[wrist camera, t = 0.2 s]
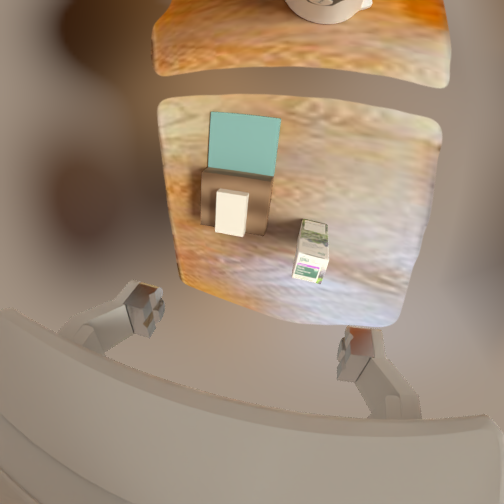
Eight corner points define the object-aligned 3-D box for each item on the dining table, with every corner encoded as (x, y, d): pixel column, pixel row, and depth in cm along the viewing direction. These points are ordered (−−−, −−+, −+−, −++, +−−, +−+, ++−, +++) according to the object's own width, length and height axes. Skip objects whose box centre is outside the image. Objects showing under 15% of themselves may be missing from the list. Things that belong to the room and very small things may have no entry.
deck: (208, 166, 59) (201, 171, 55) (273, 175, 57) (270, 181, 53) (206, 216, 65) (200, 224, 62) (266, 227, 63) (263, 236, 60)
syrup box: (296, 240, 63) (290, 279, 51) (302, 217, 60) (297, 252, 48) (321, 246, 63) (320, 286, 51) (328, 223, 60) (329, 260, 48)
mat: (211, 111, 52) (211, 111, 52) (281, 118, 50) (280, 118, 50) (208, 166, 59) (208, 167, 58) (273, 175, 57) (273, 176, 57)
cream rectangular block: (219, 188, 56) (216, 191, 55) (248, 192, 56) (246, 196, 54) (218, 227, 61) (215, 231, 60) (245, 232, 61) (242, 237, 59)
